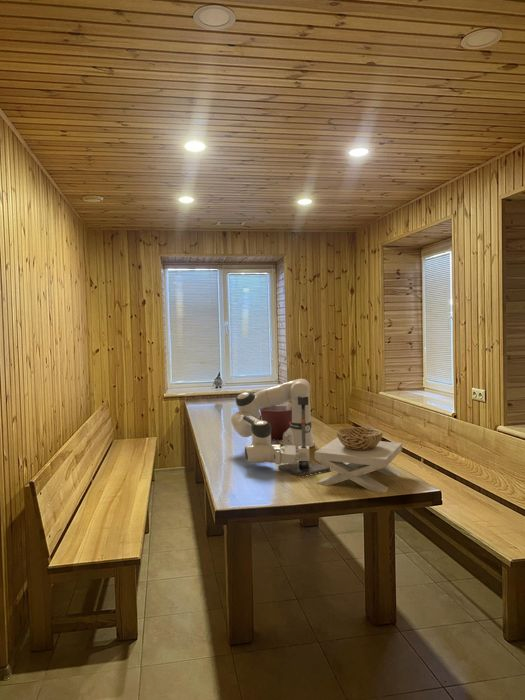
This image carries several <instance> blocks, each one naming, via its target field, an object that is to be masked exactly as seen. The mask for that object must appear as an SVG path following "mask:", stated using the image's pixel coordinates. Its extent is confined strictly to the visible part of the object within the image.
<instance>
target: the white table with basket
mask: <svg viewBox="0 0 525 700" xmlns="http://www.w3.org/2000/svg"><path fill="white" fill-rule="evenodd" d="M336 436H337V437H336V438H334V439H332V440H331V441H329V442H328V443H326V444H324V445H323V446H322V447H320V448H319V449H316V450H315V451H314V454H313V455H314V457H313V458H314V459H313V460H315V461H317V462H319V464H320V463H321V465H324V466H327V467H329V468H330V470H333V471H334V472H336V473H337V474H334V475H331V476H328V477H325V478H322V480H321V479H320V480H318V481H319V482H318V481H317V482H318V483H320V484H319V485H323V484H328V485H327V486H333V485H335V484H337V483H341V482H344V481H347V480H350V481H352V482H354V483H356V484H357V485H359V486H361V487H363V488H365V489H366V490H368V491H370V490H371V492H376V491H378V493H384V492H385V491H386V490H387V489H388V488H389V487H387V486H385V485H384V484H382V483H381V482H378V481H376V480H375V479H373V478H371V477H369V476H368V475H365V474H369V473H372V472H375V471H377V472H378V473H381V474H383V475H384V476H392V475H394V476H395V477H400V475H401V474H402V472H401V471H399V470H397V469H395V468H393V467H392V466H389V465H390V463H392V461H394V459H395V458H396V457H397V456H398V455H399V454H400V453H401V452H402V451H403V442H395V441H385V440H384V441H382V439H383V431H382V430H381V429H380V430H379V429H377V428H373V427H363V426H361V427H360V426H359V427H357V426H356V427H355V426H353V427H344V428H339V429H338V430H337V431H336ZM400 473H401V474H400ZM399 474H400V475H399ZM394 476H393V477H394ZM388 490H389V489H388ZM388 490H387V491H388ZM387 491H386V492H387ZM386 492H385V493H386Z"/></svg>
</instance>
